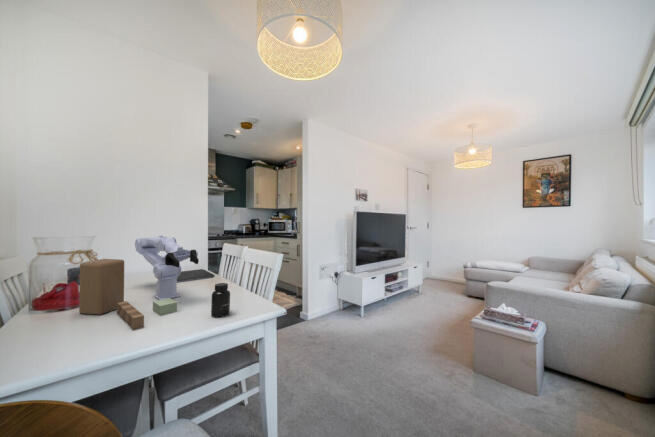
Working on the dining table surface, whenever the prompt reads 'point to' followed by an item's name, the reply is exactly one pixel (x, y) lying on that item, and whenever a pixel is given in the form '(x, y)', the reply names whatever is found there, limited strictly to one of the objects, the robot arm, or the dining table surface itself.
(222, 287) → the supplement bottle
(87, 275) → the block
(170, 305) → the sage block
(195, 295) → the dining table surface
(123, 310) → the notched wooden bar
